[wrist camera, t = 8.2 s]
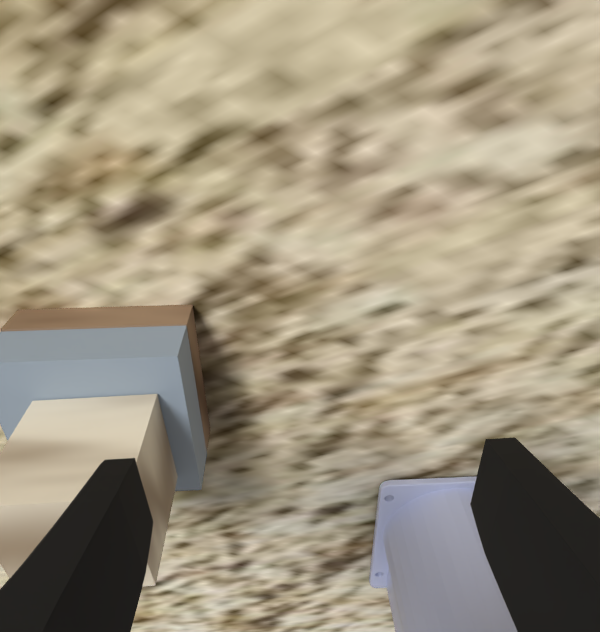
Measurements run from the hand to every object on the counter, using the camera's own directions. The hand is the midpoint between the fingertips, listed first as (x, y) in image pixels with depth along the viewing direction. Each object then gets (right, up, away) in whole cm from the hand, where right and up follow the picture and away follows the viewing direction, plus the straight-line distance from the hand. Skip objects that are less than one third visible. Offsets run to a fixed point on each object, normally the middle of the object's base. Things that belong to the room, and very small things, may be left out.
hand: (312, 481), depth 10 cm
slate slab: (-8, 0, +10) cm, 13 cm away
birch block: (-8, -1, +9) cm, 12 cm away
